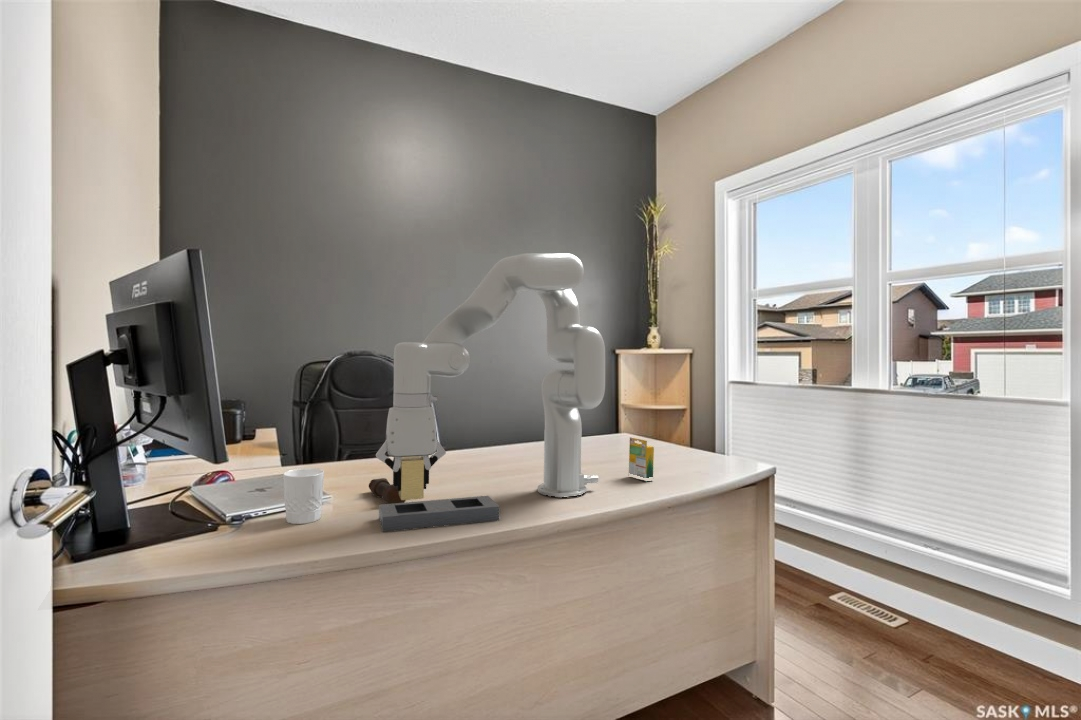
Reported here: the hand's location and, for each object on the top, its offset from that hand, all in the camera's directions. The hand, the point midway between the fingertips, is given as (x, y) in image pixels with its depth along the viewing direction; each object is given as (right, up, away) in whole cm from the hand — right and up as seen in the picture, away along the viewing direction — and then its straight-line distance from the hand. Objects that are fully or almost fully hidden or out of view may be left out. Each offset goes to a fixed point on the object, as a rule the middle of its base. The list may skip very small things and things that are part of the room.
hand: (411, 487), depth 115 cm
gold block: (0, -2, 0) cm, 2 cm away
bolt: (-10, -7, +18) cm, 22 cm away
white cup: (-23, -7, +1) cm, 24 cm away
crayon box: (+56, -7, +42) cm, 70 cm away
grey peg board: (+5, -7, +2) cm, 9 cm away
